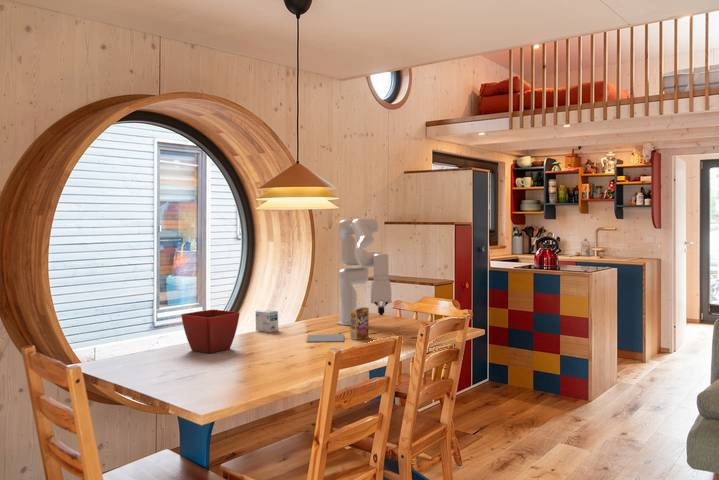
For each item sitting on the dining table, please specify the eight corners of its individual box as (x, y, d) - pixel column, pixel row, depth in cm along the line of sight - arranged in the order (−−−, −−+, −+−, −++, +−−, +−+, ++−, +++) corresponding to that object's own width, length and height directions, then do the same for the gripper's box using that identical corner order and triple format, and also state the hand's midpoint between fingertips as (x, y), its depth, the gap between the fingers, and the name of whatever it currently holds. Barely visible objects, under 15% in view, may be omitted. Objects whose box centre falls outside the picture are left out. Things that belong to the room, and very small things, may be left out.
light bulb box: (278, 330, 316) (278, 310, 316) (270, 332, 310) (270, 312, 310) (263, 328, 322) (263, 309, 321) (255, 330, 316) (254, 310, 316)
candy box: (356, 340, 289) (356, 309, 289) (350, 339, 292) (350, 308, 292) (369, 337, 295) (368, 307, 295) (363, 336, 298) (362, 306, 298)
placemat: (308, 335, 301) (308, 334, 301) (343, 335, 302) (343, 334, 302) (306, 342, 285) (306, 341, 285) (343, 341, 286) (343, 340, 286)
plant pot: (213, 343, 284) (212, 308, 283) (241, 348, 273) (240, 312, 272) (180, 351, 268) (180, 314, 268) (208, 356, 257) (208, 318, 257)
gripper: (395, 277, 297) (395, 313, 298) (365, 277, 297) (365, 313, 297) (396, 278, 290) (396, 316, 290) (366, 279, 289) (366, 316, 290)
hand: (381, 314), depth 294 cm, fingers closed
